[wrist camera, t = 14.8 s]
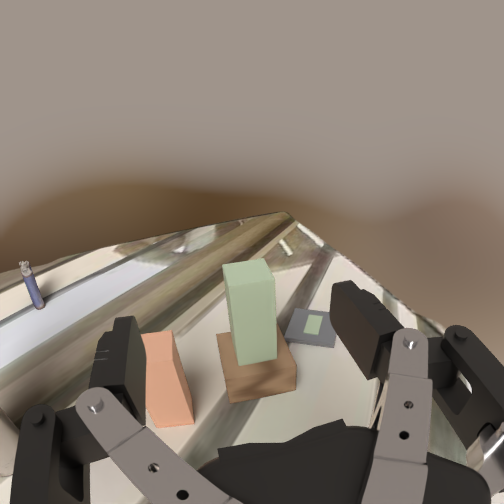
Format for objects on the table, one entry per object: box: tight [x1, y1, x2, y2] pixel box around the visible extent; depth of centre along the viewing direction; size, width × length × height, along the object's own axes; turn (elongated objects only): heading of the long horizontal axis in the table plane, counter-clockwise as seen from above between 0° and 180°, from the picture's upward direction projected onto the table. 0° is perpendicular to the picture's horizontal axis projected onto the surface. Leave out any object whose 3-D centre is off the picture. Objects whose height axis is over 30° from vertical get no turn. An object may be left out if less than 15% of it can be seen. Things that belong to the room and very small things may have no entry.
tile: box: [284, 308, 336, 348], centre depth 52 cm, size 8×8×1 cm
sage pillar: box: [222, 258, 277, 366], centre depth 39 cm, size 5×5×12 cm
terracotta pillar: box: [141, 330, 194, 428], centre depth 35 cm, size 5×5×12 cm
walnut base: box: [216, 323, 297, 404], centre depth 43 cm, size 9×9×5 cm
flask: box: [19, 261, 45, 310], centre depth 61 cm, size 9×3×11 cm, turn 44°
